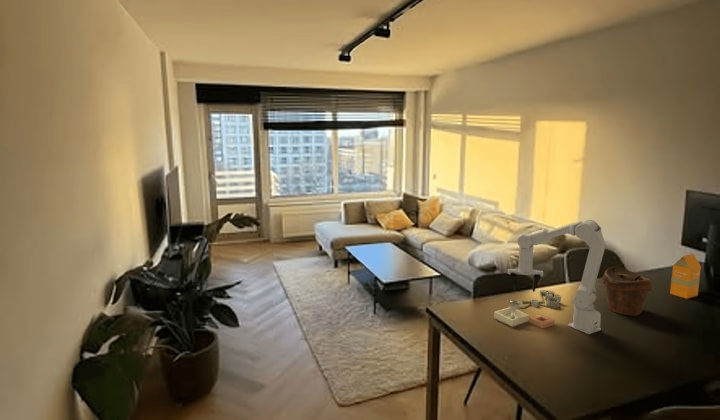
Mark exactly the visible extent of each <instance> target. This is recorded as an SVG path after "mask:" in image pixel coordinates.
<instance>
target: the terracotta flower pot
mask: <svg viewBox="0 0 720 420" xmlns="http://www.w3.org/2000/svg"><path fill="white" fill-rule="evenodd" d="M601 283H602V284H604V288H605V293H606V295H605V296H606V301H607V306H608V309H609V310H610V311H612V312H613V313H616V314H621V315H624V316H639V315H641V314H642V313H643V309H644V307H645V304H646V301H647V299H648V296H649V293H650V292H652V293H653V294H655V287H654V282H653V281H652V280H651V279H649V278H646V277H644V276H643V275H640V274H638V273H636V272H633V271H631V270H629V269H625V268H623V267H619V266H610V267H608V268H606V270H605V271H604V274H603V275H602V277H601Z"/></svg>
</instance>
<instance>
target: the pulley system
mask: <svg viewBox="0 0 720 420" xmlns="http://www.w3.org/2000/svg"><path fill="white" fill-rule="evenodd" d="M539 294H540V297H541V300H542V301H540V300H538V299H532V300H531V301H530V300H516V301H517V305H516V307H518V309H521V310H522V309H526V308H528V307H535V308H536V307H537V308H538V307H539V306H541V307H544V308H550V309H559V308H560V303H561V300H562V295H560V294H558V293H557V294H556V293H555V291H554V290H544V289H540V290H539ZM543 295H545V297H544V298H543ZM544 299H545V300H546V301H545V305H544ZM525 304H527V305H525Z"/></svg>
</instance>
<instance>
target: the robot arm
mask: <svg viewBox="0 0 720 420" xmlns="http://www.w3.org/2000/svg"><path fill="white" fill-rule="evenodd" d="M568 234H569V235H572V236H576V237H577V238H578V239H579V240H581V241H583V242H584V243H586V245H587V246H588V247H589V250H588V252H587V253H588V254H587V258H586V261H585V266H584V270H583V273H582V277H581V282H580V284H579V286H578V289H577V291H576V293H575V294H574V296H573V297H572V303H573V316H572V322H570V323H568V324H567V326H568V327H570V328H572V329H575V330H577V331H580V332H582V333H585V334H587V335H591V334H594V333H596V332H600V331H602V328H601V317H602V316H601V315H602V314H601V312H600V311H598V310H597V309H595V306H594V302H596V300H597V294H596V290H597V288H596V282H597V279H598V276H599V272H600V268H601V263H602V260H603V257H604V253H605V249H606V241H605V238H604V235H603V232H602V227H601V226H600V225H599V224H598V223H597V222H596V221H595V220H592V219H587V220H585V221H583V220H581V221H576V222H571V223H569V224H566V225H562V226H559V227H556V228H552V229H547V228H542V227H540V228H538V229H537V230H535V231H528V232H527V233H525V234H522V235H520V236H519V237H518V238H517V245H518V247H519V248H518V249H519V250H518V268H507V274H508V275H510V278H511V280H512V283H513V288H514V291H517V275H522V276H523V275H525V276H526V275H527V276H532V279H533V280H532V292H533V293H535V292H536V287H537V285H538V283H539V282H540V280H541V277H544V271H543V270H538V269H533V267H534V266H533V264H534V263H533V261H534V246H537V245H541V244H545V243H548V242H550V241H551V240H552V238H555V237H558V236H564V235H568Z"/></svg>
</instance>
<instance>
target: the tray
mask: <svg viewBox="0 0 720 420" xmlns="http://www.w3.org/2000/svg"><path fill="white" fill-rule="evenodd" d="M509 314H510V306H508V307H506V308H503V309H499V310H496V311H494V312H493V319H495V320H497V321H499V322H501V323H503V324H505V325H507V326H509V327H511V328H514V327H516V326H520V325H523V324H526V323H529V318H530V314H527V313H525V312H523V311H522V310H518V309H516V313H515V319H510V318H509Z"/></svg>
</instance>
